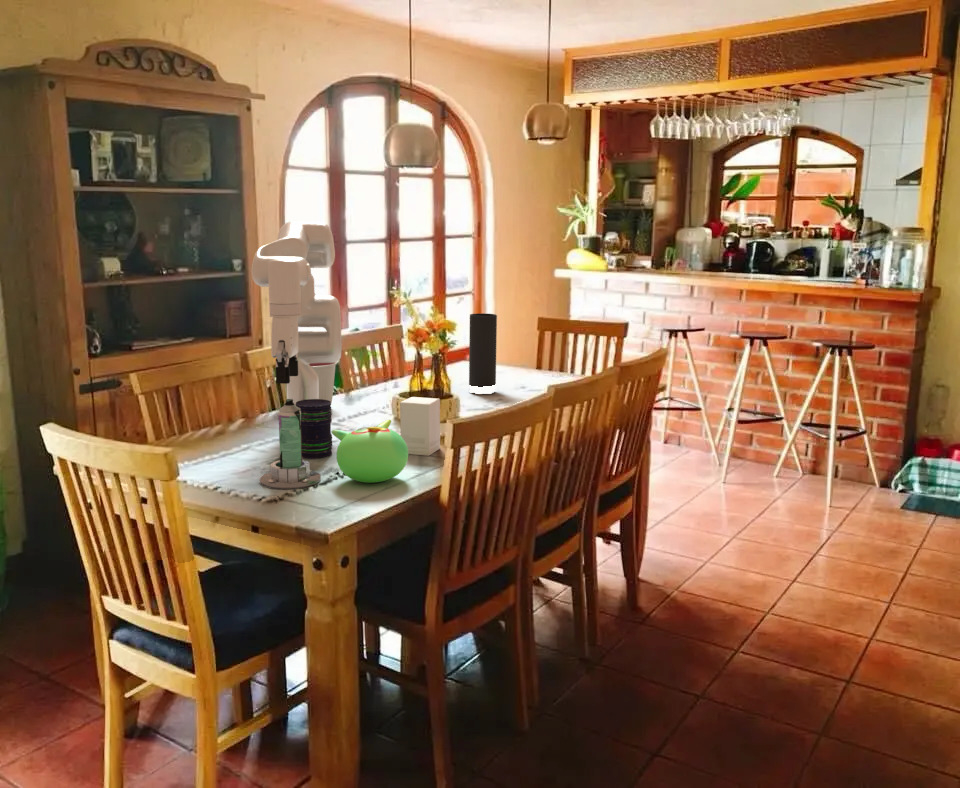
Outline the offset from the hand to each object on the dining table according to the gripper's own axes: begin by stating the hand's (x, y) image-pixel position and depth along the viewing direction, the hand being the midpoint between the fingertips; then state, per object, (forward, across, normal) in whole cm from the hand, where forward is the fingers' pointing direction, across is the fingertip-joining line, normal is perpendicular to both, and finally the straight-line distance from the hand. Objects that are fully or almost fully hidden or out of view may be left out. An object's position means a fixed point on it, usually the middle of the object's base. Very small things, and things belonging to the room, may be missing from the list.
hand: (287, 379), depth 216 cm
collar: (+26, 0, 0) cm, 26 cm away
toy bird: (+26, -1, +20) cm, 33 cm away
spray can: (+25, 0, 0) cm, 25 cm away
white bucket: (+27, -85, -11) cm, 89 cm away
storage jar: (+26, -25, +1) cm, 36 cm away
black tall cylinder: (+27, -118, +48) cm, 131 cm away
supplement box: (+26, -30, +31) cm, 50 cm away
